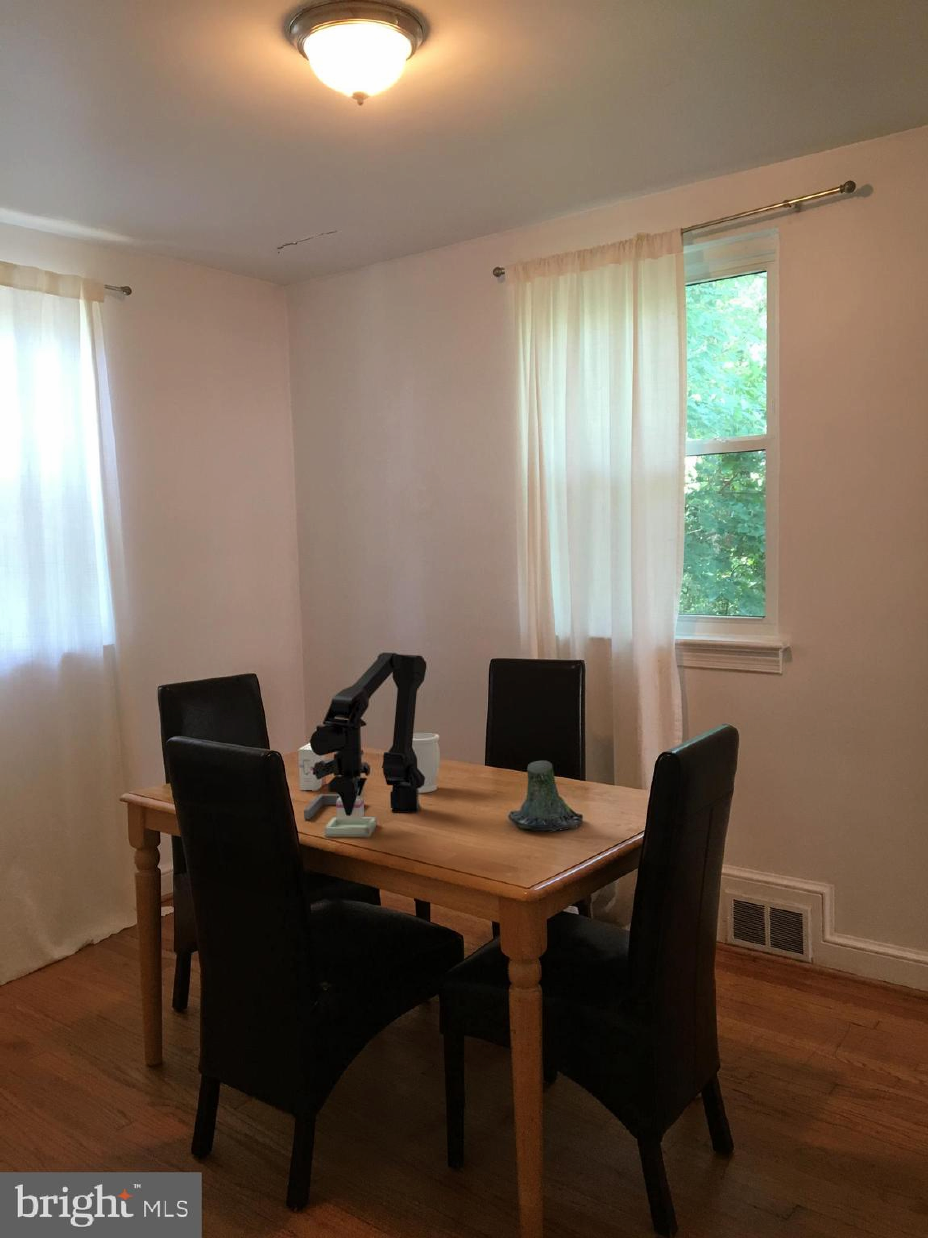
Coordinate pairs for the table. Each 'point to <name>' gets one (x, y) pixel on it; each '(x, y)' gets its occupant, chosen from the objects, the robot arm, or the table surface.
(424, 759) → the jar
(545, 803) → the tree stump
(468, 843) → the table surface
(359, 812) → the white striped box
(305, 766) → the ink cartridge box
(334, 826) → the tray
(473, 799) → the table surface
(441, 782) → the table surface
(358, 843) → the table surface
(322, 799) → the bay
